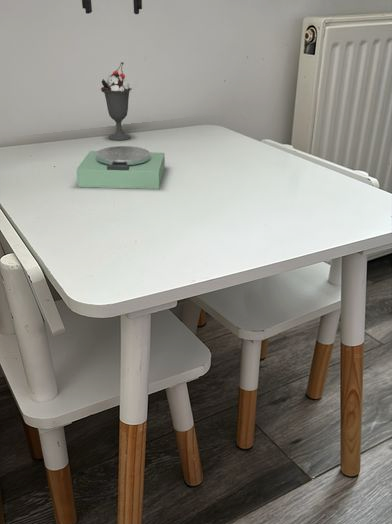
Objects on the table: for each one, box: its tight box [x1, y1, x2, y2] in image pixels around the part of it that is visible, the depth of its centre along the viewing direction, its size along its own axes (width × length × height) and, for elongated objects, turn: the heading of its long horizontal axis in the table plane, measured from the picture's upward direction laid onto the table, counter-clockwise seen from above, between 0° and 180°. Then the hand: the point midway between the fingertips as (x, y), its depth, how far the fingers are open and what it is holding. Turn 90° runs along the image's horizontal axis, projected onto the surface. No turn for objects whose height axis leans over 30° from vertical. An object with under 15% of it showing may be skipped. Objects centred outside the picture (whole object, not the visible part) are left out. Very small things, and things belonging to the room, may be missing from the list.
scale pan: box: [96, 145, 150, 165], centre depth 99 cm, size 10×10×1 cm
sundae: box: [100, 61, 133, 141], centre depth 121 cm, size 7×7×15 cm
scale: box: [76, 150, 166, 190], centre depth 100 cm, size 14×12×4 cm
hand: (112, 13), depth 112 cm, fingers open, 9 cm apart
